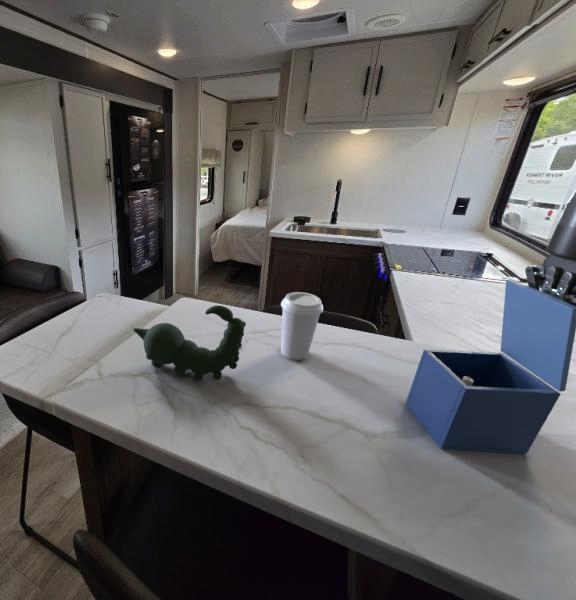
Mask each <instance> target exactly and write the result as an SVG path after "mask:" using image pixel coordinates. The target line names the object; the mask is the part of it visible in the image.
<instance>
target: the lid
mask: <svg viewBox="0 0 576 600" xmlns="http://www.w3.org/2000/svg"><path fill="white" fill-rule="evenodd" d="M504 291H505V292H504V303H503V314H502V315H503V317H502V328H501V339H500V352H501V353H503V354H504V355H506V356H507V357H509V358H510V359H511V360H513V361H514V362H516V363H517V364H519V365H520V366H522V367H523V368H524V369H526V370H527V371H529V372H530V373H532V374H533V375H534V376H536V377H537V378H539V379H540V380H542V381H543V382H544V383H546V384H547V385H549V386H550V387H552V388H553V389H555V390H556V391H557V392H559V393H560V392H565V391H566V389H567V383H568V378H569V371H570V365H571V360H572V354H573V349H574V342H575V337H576V306H573V305H571V304H569V303H567V302H564V301H562V300H559V299H557V298H555V297H552V296H550V295H548V294H545V293H543V292H541V290H540V291H538V290H536V289H534V288H531V287H529V286H528V284H524V283H522V282H520V281H517V280H515V279H513V278H509V279H506V280H505V290H504Z"/></svg>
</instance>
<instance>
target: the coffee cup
mask: <svg viewBox="0 0 576 600" xmlns="http://www.w3.org/2000/svg"><path fill="white" fill-rule="evenodd" d="M280 307H281V308H282V316H281V317H282V318H281V339H280V341H281V342H280V352H281V354H282V355H283V356H284V357H285V358H288V359H290V360H295V361H301V360H305V359H307V358H308V356H309V352H310V350H311V345H312V342H313V339H314V336H315V332H316V329H317V326H318V323H319V318H320V315H321V314H322V313H323V312H324V305H323V303H322V300H321V298H320V297H318V296H317V295H315V294H312V293H309V292H302V291H295V292H289V293H287V294H286V295H285V297H284V298H282V300H281V302H280Z"/></svg>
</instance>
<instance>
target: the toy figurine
mask: <svg viewBox="0 0 576 600" xmlns="http://www.w3.org/2000/svg"><path fill="white" fill-rule="evenodd" d="M204 314H205V315H212V314H213V315H216V316H217V317H219V318H220V319H221V320H223V321H224V322H227V324H226V326H227V328H225V329H224V332H223V338H221V340H220V341H219V345H218V346H217V347H216V348H215V349H209V348H207V347H202V346H200V347H199V346H198V344H197V343H195V341H192V340H190V339H185V336H184V334H183V332H182V330H181V329H180V328H179V327H178V326H176V325H174V324H171V323H168V322H161V323H157V324H155V325H152V326H151V327H150V328H141V327H140V328H139V327H134V328H133V332H134V333H136V335H138V337H139V338H140V339H141V340H142V341H143V349H144V352H145V357H146V359H147V360H151V361H150V362H151V365H152V366H153V367H154V368H156V369H157V368H158V369H159V368H162V367H164V366H165V365H170V364H173V365H174V368H173V371H174V375H176V376H178V377H183V376H184V375H185V374H186V371H191V372H192V373H194V374H193V378H194V380H195V381H197V382H200V381H202V380H203V378H204V376H205V375H208V374H209V373H210V374H212V378H213V379H214V380H215V381H216V380H217V381H219V380H221V379H222V377H223V373H222V371H223V370H225V369H226V367H229V369H231V370H234V369H237V367H238V362H239V360H240V349H241V348H242V347H243V344H242V342H243V341H242V340H243V337H244V336H245V333H244V331H245V327H246V325H247V324H246V321H244V320H242V319H241V318H239V317H234V313H233V311H232V310H231V309H230V308H228V307H226V306H224V305H212V306H210V307H208V308H207V309H206V310H205V312H204Z"/></svg>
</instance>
